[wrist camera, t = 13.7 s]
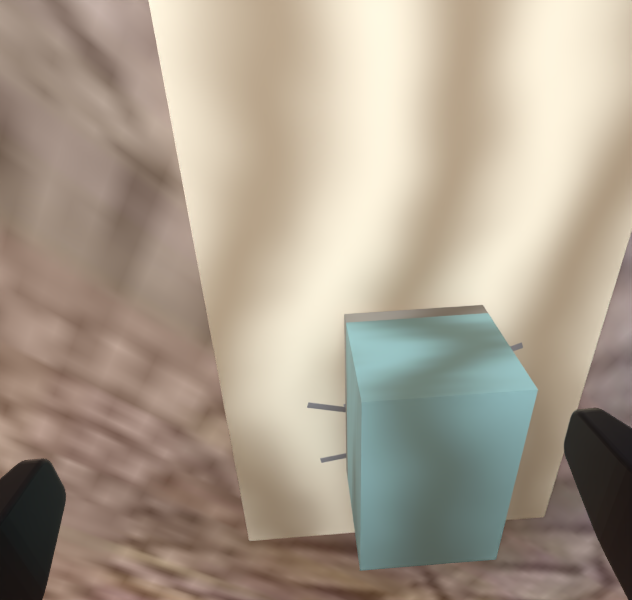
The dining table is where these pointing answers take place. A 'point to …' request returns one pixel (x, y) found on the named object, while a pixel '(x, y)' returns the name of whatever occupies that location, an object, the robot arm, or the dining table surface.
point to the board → (394, 207)
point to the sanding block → (431, 434)
